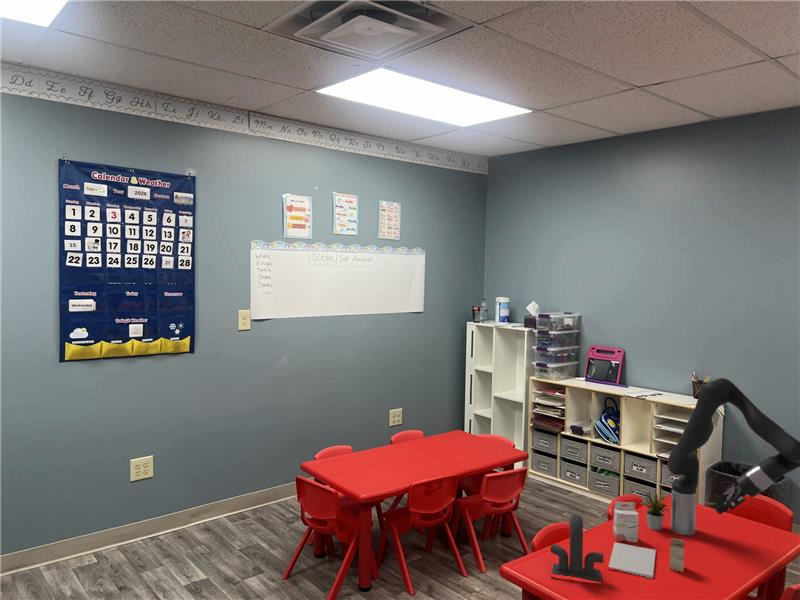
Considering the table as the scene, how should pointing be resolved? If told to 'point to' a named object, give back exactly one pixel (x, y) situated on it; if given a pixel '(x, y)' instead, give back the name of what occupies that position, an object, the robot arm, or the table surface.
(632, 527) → the ink cartridge box
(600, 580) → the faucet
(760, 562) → the table surface
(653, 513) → the house plant
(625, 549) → the grey board
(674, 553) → the wooden block
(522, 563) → the table surface
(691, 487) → the robot arm
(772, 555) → the table surface
